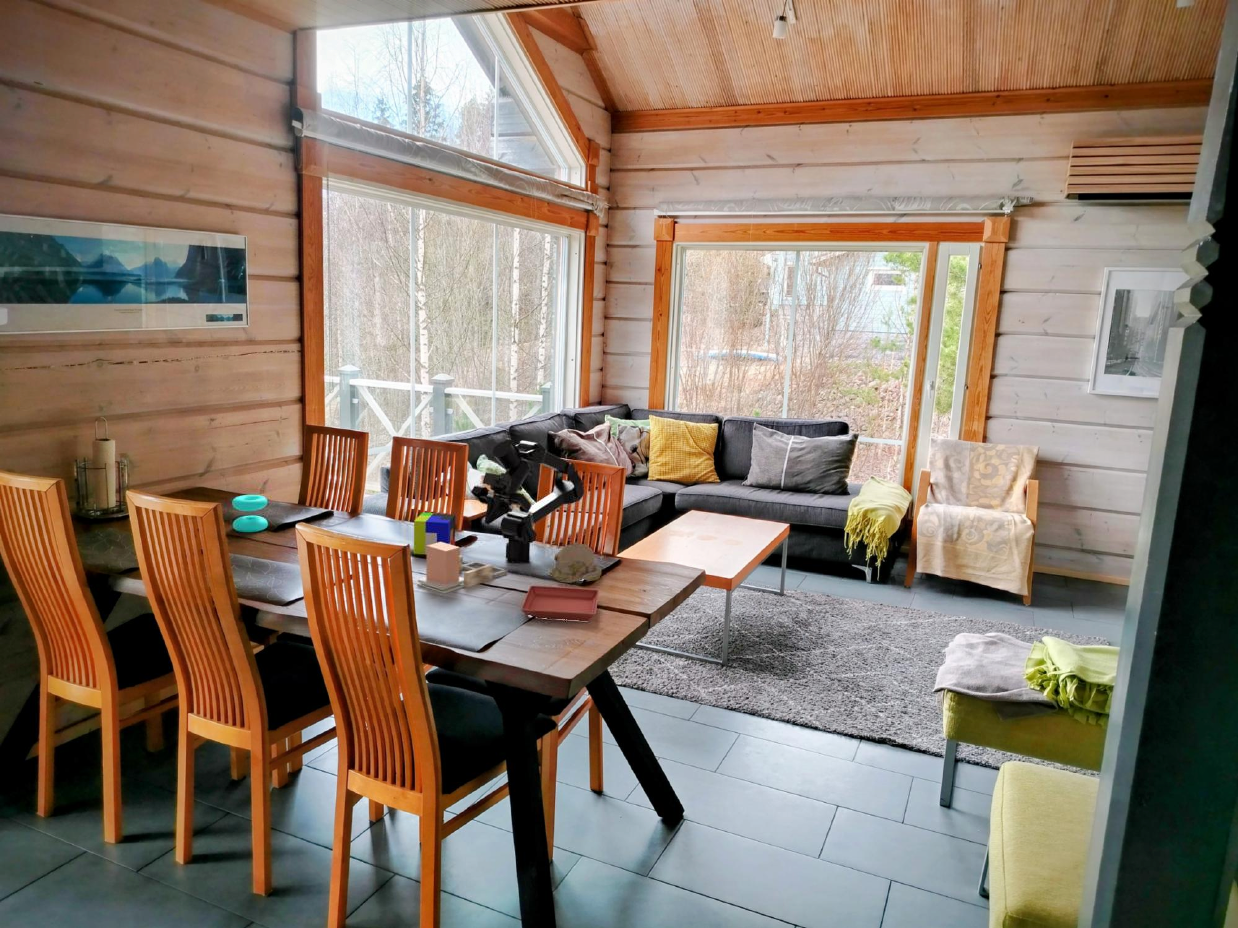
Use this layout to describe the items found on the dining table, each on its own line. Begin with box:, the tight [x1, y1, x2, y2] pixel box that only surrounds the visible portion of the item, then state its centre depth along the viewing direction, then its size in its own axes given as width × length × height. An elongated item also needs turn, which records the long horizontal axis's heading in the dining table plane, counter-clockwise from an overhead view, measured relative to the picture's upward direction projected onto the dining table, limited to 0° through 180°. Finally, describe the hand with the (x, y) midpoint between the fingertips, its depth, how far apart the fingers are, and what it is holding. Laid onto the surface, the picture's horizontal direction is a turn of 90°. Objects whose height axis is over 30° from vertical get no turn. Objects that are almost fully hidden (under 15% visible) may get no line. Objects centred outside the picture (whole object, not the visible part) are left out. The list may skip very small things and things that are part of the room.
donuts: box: [231, 494, 269, 533], centre depth 270 cm, size 10×10×10 cm
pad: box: [416, 582, 465, 594], centre depth 230 cm, size 7×10×1 cm
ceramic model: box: [548, 541, 602, 584], centre depth 243 cm, size 14×11×10 cm
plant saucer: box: [520, 585, 600, 622], centre depth 218 cm, size 18×18×3 cm
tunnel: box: [459, 555, 494, 589], centre depth 236 cm, size 10×12×4 cm
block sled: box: [417, 542, 464, 590], centre depth 229 cm, size 9×9×10 cm
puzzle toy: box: [413, 512, 456, 555], centre depth 260 cm, size 10×10×10 cm
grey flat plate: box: [461, 560, 508, 580], centre depth 243 cm, size 6×12×1 cm, turn 56°
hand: (486, 523), depth 241 cm, fingers closed
